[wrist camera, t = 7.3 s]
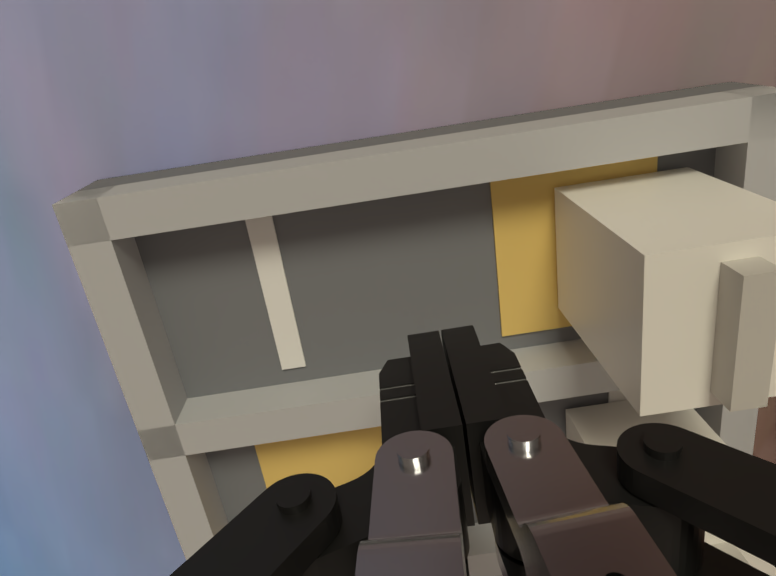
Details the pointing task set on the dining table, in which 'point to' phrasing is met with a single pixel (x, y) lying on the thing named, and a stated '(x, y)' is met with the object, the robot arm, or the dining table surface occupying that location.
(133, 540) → the dining table surface
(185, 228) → the switch bank
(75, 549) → the dining table surface
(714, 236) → the tab
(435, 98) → the dining table surface
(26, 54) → the dining table surface
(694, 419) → the tab
